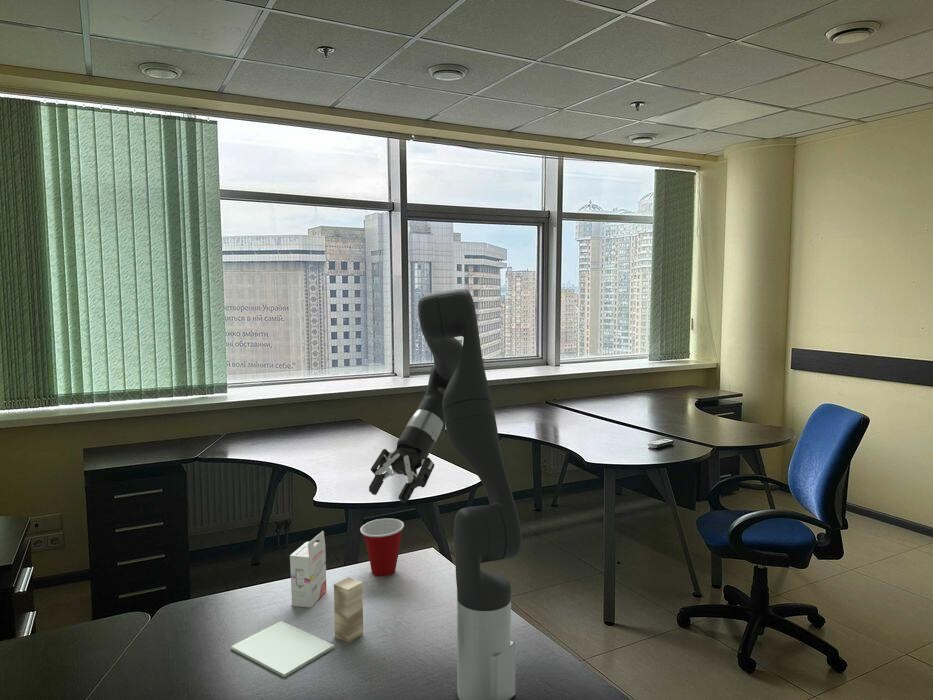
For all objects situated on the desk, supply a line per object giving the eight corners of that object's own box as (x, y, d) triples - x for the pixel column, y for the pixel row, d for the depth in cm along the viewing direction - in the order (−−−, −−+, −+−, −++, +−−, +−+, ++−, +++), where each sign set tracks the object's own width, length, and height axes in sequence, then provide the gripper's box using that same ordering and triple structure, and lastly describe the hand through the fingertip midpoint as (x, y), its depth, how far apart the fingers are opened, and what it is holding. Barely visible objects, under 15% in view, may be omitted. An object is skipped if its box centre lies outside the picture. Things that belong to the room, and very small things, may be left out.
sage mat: (334, 648, 127) (334, 645, 127) (284, 677, 117) (284, 674, 117) (281, 623, 136) (281, 620, 136) (231, 649, 127) (231, 646, 126)
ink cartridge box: (307, 589, 152) (305, 528, 151) (327, 591, 151) (325, 529, 150) (290, 606, 144) (288, 542, 142) (311, 608, 143) (309, 543, 141)
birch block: (363, 634, 132) (362, 582, 131) (348, 643, 129) (347, 589, 128) (349, 628, 134) (348, 577, 133) (334, 636, 131) (333, 584, 130)
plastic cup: (355, 567, 164) (354, 521, 163) (396, 560, 169) (395, 515, 167) (367, 585, 154) (367, 536, 153) (410, 576, 159) (410, 529, 158)
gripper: (389, 420, 149) (353, 481, 140) (438, 429, 140) (403, 494, 132) (404, 439, 153) (371, 499, 145) (452, 448, 145) (420, 512, 137)
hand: (386, 496), depth 139 cm, fingers open, 8 cm apart
